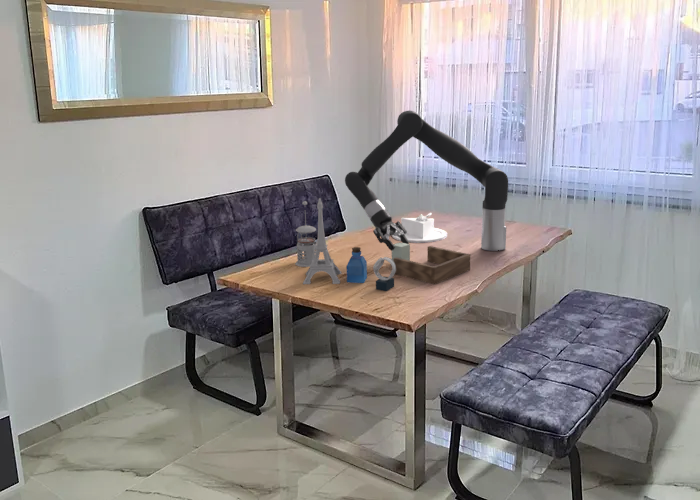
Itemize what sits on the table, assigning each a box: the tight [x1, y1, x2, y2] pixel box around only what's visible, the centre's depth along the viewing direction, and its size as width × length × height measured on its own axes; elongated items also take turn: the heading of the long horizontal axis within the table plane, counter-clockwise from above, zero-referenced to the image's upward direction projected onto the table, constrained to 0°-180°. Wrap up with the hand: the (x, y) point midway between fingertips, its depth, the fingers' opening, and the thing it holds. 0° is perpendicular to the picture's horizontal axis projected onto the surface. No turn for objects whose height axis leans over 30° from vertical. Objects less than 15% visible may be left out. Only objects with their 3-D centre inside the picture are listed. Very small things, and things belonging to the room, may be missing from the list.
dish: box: [391, 212, 448, 244], centre depth 303 cm, size 25×25×11 cm
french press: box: [294, 200, 317, 268], centre depth 265 cm, size 10×12×25 cm
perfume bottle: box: [346, 246, 368, 284], centre depth 244 cm, size 6×6×12 cm
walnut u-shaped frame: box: [394, 245, 471, 285], centre depth 252 cm, size 19×22×6 cm
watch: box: [372, 256, 396, 292], centre depth 235 cm, size 6×8×11 cm
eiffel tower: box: [302, 198, 342, 285], centre depth 245 cm, size 13×13×30 cm
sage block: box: [391, 241, 411, 261], centre depth 262 cm, size 5×5×8 cm
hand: (400, 247), depth 261 cm, fingers open, 8 cm apart
